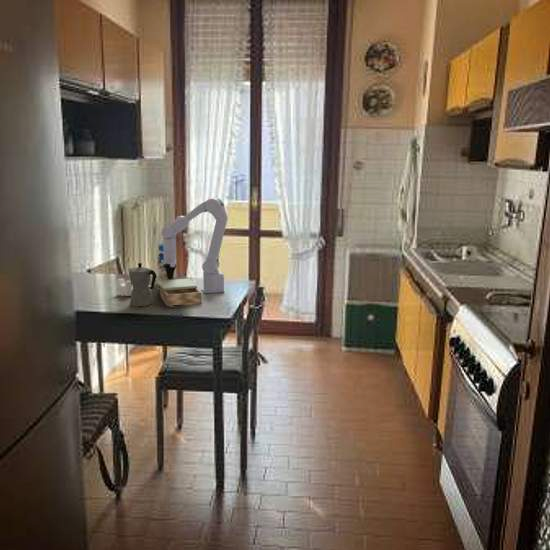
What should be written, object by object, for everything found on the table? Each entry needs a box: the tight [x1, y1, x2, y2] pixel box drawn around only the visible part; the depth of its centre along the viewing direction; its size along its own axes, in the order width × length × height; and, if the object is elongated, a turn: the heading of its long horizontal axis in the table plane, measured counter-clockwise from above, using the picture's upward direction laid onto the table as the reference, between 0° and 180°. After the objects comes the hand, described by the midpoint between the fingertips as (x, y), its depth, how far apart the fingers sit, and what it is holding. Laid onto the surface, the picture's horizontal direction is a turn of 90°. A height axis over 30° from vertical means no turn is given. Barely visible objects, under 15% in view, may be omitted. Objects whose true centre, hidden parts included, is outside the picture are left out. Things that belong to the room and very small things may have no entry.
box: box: [160, 287, 203, 307], centre depth 240 cm, size 15×15×5 cm
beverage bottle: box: [156, 243, 176, 280], centre depth 271 cm, size 8×8×20 cm
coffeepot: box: [127, 262, 158, 307], centre depth 232 cm, size 15×9×18 cm, turn 61°
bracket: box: [117, 278, 152, 297], centre depth 251 cm, size 13×7×8 cm, turn 139°
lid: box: [156, 277, 198, 291], centre depth 247 cm, size 15×16×4 cm
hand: (170, 279), depth 260 cm, fingers closed
